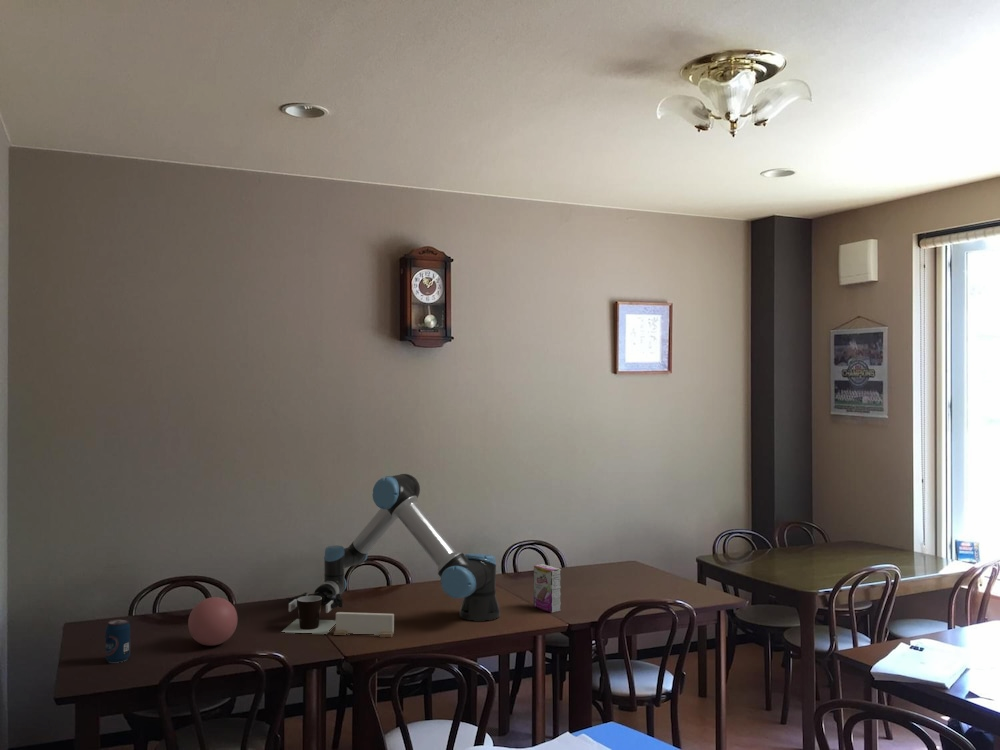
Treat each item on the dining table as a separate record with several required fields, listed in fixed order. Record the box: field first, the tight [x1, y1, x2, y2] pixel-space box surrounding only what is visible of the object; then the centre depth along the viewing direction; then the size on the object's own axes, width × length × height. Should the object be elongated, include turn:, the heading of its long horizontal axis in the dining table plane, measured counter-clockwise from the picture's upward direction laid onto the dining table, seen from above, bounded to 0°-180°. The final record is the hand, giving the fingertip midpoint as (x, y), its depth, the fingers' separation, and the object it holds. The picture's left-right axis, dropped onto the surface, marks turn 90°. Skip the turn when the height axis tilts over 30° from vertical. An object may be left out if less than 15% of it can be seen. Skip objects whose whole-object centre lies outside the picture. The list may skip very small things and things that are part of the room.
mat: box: [281, 618, 336, 635], centre depth 288 cm, size 16×16×1 cm
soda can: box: [104, 618, 131, 664], centre depth 252 cm, size 7×7×12 cm
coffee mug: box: [297, 596, 322, 630], centre depth 288 cm, size 12×9×10 cm
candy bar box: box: [533, 563, 562, 614], centre depth 314 cm, size 11×5×16 cm, turn 37°
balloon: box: [187, 596, 239, 647], centre depth 270 cm, size 15×20×15 cm
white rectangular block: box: [333, 611, 395, 638], centre depth 279 cm, size 20×4×7 cm, turn 85°
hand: (308, 608), depth 285 cm, fingers open, 13 cm apart
